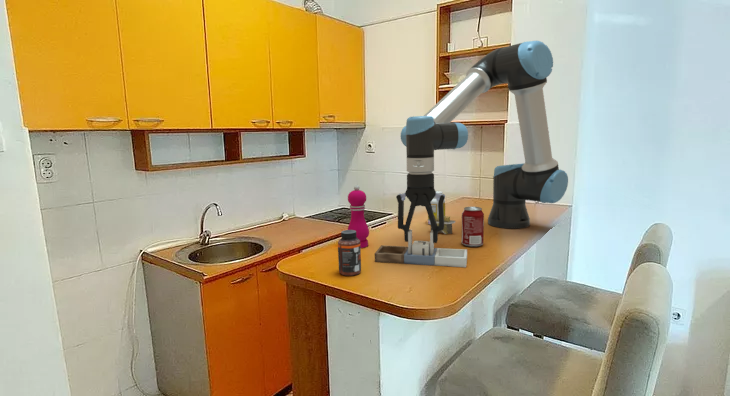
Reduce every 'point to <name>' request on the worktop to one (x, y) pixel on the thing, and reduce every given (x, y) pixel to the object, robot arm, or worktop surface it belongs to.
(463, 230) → the soda can
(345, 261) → the supplement bottle
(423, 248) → the letter cube
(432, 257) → the blue square tray
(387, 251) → the bin walnut
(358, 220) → the pepper mill
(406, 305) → the worktop surface
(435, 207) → the supplement bottle
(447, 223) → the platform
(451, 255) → the bin white
